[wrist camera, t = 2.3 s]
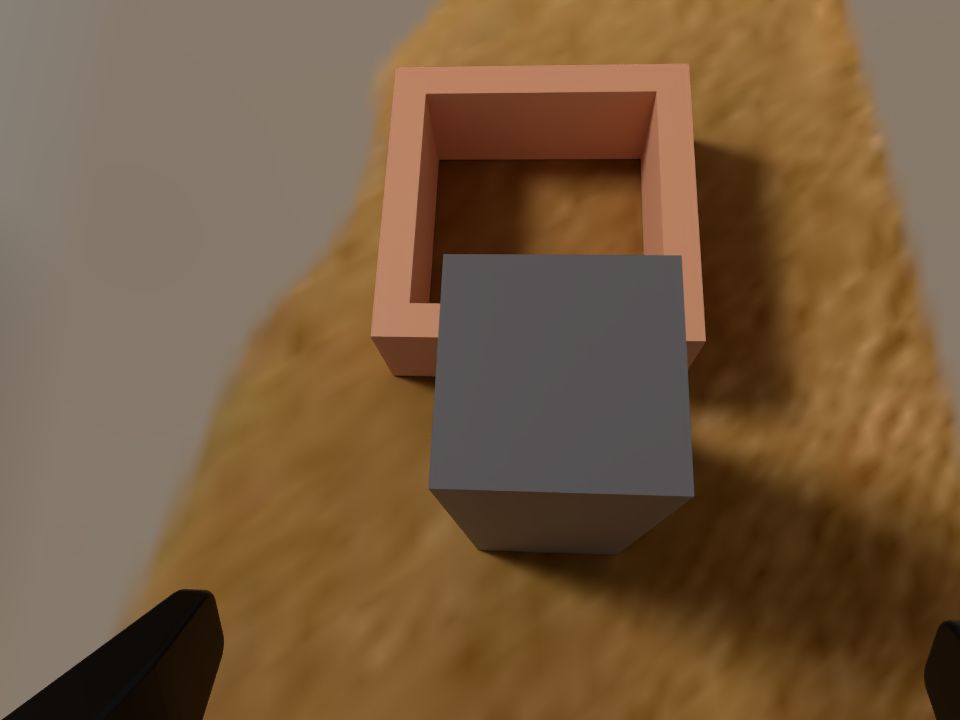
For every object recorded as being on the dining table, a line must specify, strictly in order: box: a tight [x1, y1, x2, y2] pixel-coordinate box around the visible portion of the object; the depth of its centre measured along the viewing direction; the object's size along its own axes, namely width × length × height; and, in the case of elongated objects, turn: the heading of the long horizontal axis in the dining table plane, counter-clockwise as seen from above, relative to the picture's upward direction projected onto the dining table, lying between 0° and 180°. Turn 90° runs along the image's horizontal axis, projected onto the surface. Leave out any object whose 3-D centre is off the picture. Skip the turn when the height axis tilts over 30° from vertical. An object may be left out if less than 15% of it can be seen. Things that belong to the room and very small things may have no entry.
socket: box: [371, 64, 706, 376], centre depth 23 cm, size 9×9×4 cm
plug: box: [429, 254, 694, 555], centre depth 17 cm, size 4×4×11 cm
